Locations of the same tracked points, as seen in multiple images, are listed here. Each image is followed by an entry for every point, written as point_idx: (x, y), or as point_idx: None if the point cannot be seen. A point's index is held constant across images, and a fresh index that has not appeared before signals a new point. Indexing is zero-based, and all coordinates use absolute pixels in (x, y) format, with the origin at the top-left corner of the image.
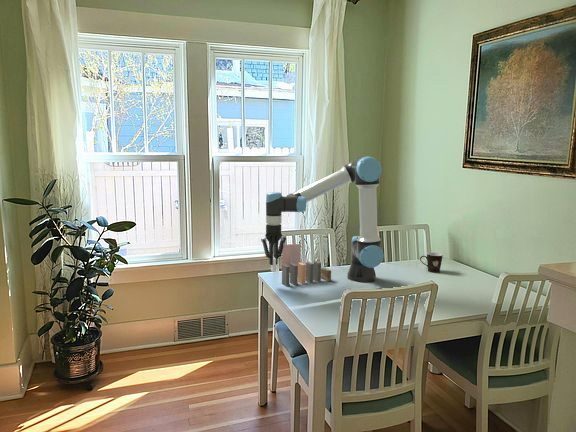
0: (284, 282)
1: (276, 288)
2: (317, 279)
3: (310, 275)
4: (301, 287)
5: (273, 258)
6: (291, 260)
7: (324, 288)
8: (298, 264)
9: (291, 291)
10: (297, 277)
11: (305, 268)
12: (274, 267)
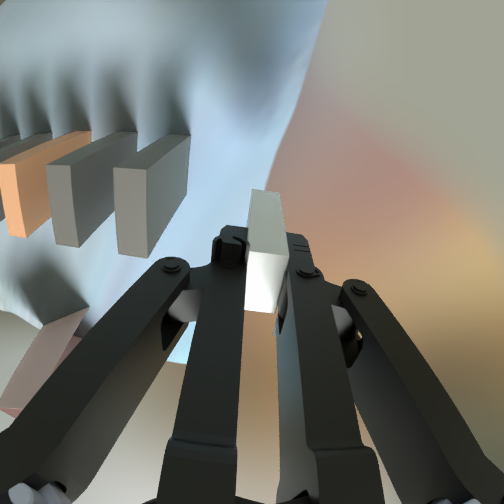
0: (184, 163)
1: (267, 129)
2: (11, 141)
3: (23, 143)
4: (121, 78)
5: (268, 277)
6: (56, 353)
7: (40, 29)
8: (31, 226)
9: (218, 33)
10: (96, 141)
11: (16, 155)
12: (266, 206)
